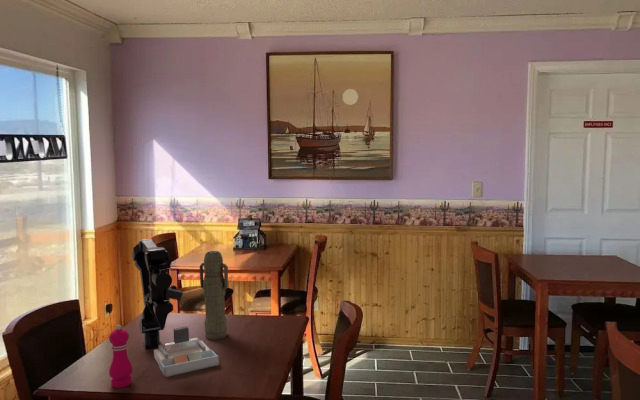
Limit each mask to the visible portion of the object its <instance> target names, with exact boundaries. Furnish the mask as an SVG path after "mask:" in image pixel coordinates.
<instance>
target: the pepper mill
mask: <svg viewBox="0 0 640 400" xmlns="http://www.w3.org/2000/svg"><path fill="white" fill-rule="evenodd" d="M129 336H130V335H129V332H128V331H127V330H126V329H124V328H122V325H121V324H116V325H115V329H114V330H112V331H111V332H110V334H109V336H108V340H109V342H110V344H111V345H110V346H111V348H110V349H111V350H112V361H111V363H110V365H109V370H108V371H109V372H108V373H109V377H111V380H110V381H111V386H112V388H117V389H119V388H125V387H127V386H130V385H131V384H132V383H133V382H132V381H133V379H132V376H131V375H132V373H133V372H134V371H133V365H132V363H131V360H130V359H129V357H128V354H127V349H128V343H129V342H128V340H129V338H130V337H129Z"/></svg>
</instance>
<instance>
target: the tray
mask: <svg viewBox="0 0 640 400" xmlns="http://www.w3.org/2000/svg"><path fill="white" fill-rule="evenodd" d="M201 356H202V359H198V360H193V361H189V360H188V362H184V363H179V364H174V360H173V359H171V360H166V361H161V360H159V364H158V367H159V370H160V372H161V373H162V375H163V377H164V378H167V377H171V376H177V375H180V374H185V373H189V372H195V371H199V370H203V369H208V368H212V367H218V366H219V365H220V357H219V355H217V354H216V353H215V351H214V350H213V349H210V352H205V353H201ZM187 359H188V357H187Z"/></svg>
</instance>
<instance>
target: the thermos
mask: <svg viewBox="0 0 640 400" xmlns="http://www.w3.org/2000/svg"><path fill="white" fill-rule="evenodd" d="M223 262H224V259H223V255H222V253H221V252H220V251H218V250H214V251H213V250H210V251H207V252H206V253H205V255H204V259H203V262H201V264H200V265H199V283H200V284H199V285H200V289H202V291H203V297H204V306H205V307H204V308H205V318H204V333H205V339H207V340H212V341H213V340H214V341H216V340H222V339H225V338H226V337H227V331H228V325H227V323H228V321H227V317H226V304H225V302H226V300H225V296H226V290H227V289H228V288H229V267H228V265H227V264H226V263H223Z"/></svg>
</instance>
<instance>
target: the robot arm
mask: <svg viewBox="0 0 640 400" xmlns="http://www.w3.org/2000/svg"><path fill="white" fill-rule="evenodd" d="M132 248H133V249H132V252H131V257H132V261H133V262H134V266H135V268H137V270H138V271H139V275H140V281H141V282H140V283H141V289H142V290H141V291H142V296H143V297H142V298H143V299H142V300H143V306H144V307H143V310H142V312H141V315H140V316H141V317H140V319H139V323H138V327H139V331H140V333H141V334H144V335H143V337H144V342H142V346H143V348H144V349H145V350H149V349H154V348H155V349H156V348H158V345H162V346H163V343H162V342H161V338H160V337H161V336H160V331H163V330H165V327H166V322H167V319H168V315H170V313H172V312H173V311H174V305H173V304H172V303H171V302H170V299H171V300H175V301H176V300H177V302H180V301H181V300H182V297H183V294H184V293H183V291H182V290H180V289H179V288H178V287H177V286H176V285H174V284H172V283H173V278H172V276H171V274H169V273H168V272H167V270H168V269H171V265H172V261H171V257H170V254H169V252H168V250H166V248H165V247H158V246H157V245H156V243H155V242H154V239H152V238H147V239H145V238H144V239H140V240H138V244H136V245H135V246H134V247H132Z"/></svg>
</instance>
